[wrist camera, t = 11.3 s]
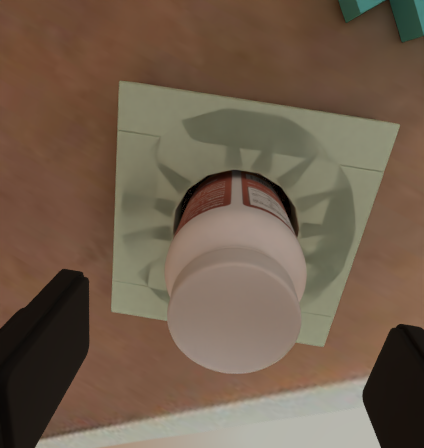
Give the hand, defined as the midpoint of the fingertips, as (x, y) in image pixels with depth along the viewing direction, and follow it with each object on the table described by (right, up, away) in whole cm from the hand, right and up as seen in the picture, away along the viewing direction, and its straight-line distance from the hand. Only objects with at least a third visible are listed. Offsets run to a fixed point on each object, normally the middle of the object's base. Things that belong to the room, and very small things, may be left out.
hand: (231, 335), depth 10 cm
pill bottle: (+1, +4, +12) cm, 12 cm away
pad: (+1, +4, +11) cm, 12 cm away
